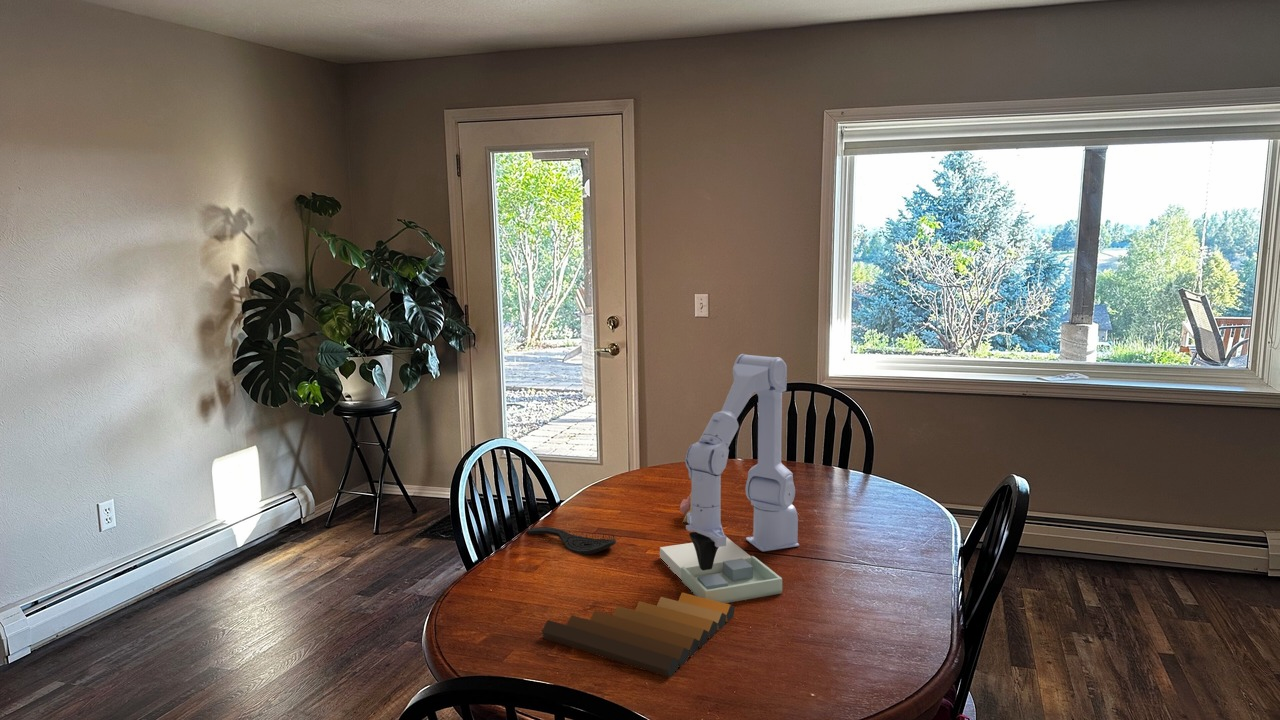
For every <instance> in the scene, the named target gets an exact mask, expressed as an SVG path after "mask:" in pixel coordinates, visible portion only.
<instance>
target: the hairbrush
mask: <svg viewBox="0 0 1280 720" xmlns="http://www.w3.org/2000/svg"><path fill="white" fill-rule="evenodd" d="M526 532H527V534H528V535H551V536H555V537H558V538H559V540H560V541H561V542H562V544H563V546H564V547H565V549H567V550H569V551H570V552H573V553H575V554H578V555H583V556H584V555H586V556H587V555H591V554H592V555H593V554H595V553H599V552H601V551H603V550H605V549H607V548H608V549H609V548H610V547H612V546H614V545H616V544H617V541H616V539H615V538H614V537H615V534H612V535H610V536H607V535H605V534H603V535H601V536H602V537H601V536H596V533H594V534H591V535H590V534H585V535H584V533H581V535H578V534H577V533H572V534H571V530H568V531H565V530H563V529H558V528H555V527H550V526H539V527H533V528H529V529H527V530H526ZM588 536H589V537H588ZM599 537H600V538H599Z"/></svg>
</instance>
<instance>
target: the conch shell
mask: <svg viewBox="0 0 1280 720" xmlns="http://www.w3.org/2000/svg"><path fill="white" fill-rule="evenodd" d="M679 510H680V512H681V513H682V515H684V518H683V521H682V523H683V522H684V523H688V522H687V513H692V491H691V492H690V493H689V496H687V498H683V499H682V501H681V502H680V506H679Z"/></svg>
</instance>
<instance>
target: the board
mask: <svg viewBox="0 0 1280 720" xmlns="http://www.w3.org/2000/svg"><path fill="white" fill-rule="evenodd" d="M751 556H752V555H750V554H748V553H747V552H746V551H745V550H744V549H743V548H741V547H740V546H739V545H737V544H736V543H735V542H733V541H732V540H731V539H730V538H729V537H726V546H722V547H719V548H718V550H717V552H716V555H715V558H714V562H713V566H712V569H709V570H702V569H700V567H699V563H698V558H697V554H696V550H695V547H694V544H693V542H689V543H688V542H687V543H681V544H674V545H666V546H661V547H660V546H659V559H660V558H661V559H662V560H663V561H664V562H665V563H666V564H667V565H668V566H667V565H666V564H665V563H664V562H663V561H662V560H661V559H660V560H661V561H662V562H663V563H664V564H665V565H666V566H667V567H668V568H669V567H670V568H669V569H670V571H671V572H672V573H674V575H675V574H676V575H677V576H678V577H679V578H680V579H681V567H685V568H686V569H687V570H688V571H689V572H690V573H691V574H692V575H693V576H694V577H696V576H702V575H708V574H714V573H720V572H723V561H729V560H735V559H741V558H743V559H744V560H745V561H747V562H748V563H749V564H751ZM676 575H675V576H676ZM677 576H676V577H677ZM678 577H677V578H678ZM679 578H678V579H679ZM680 579H679V580H680Z"/></svg>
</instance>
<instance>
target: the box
mask: <svg viewBox="0 0 1280 720" xmlns="http://www.w3.org/2000/svg"><path fill="white" fill-rule="evenodd" d="M750 556H751V565H752V566H753V578H752V579H746V580H740V581H735V582H733V581H731V580H730V579H729V578H728V577H727V576H726V575H724V574H723V572H720V573H714V574H719V575H720V576H721V577H722V578H723V579H724V580H725V581H726V582H727V583H728V586H727V587H721V588H715V589H709V590H707V589H706V588H705V587H704V586H703V585H702V584H701V583H700V582H699V581H698V580H697V577H700V576H696V577H694V576H693V575H692V574H691V573H690V572H689V571H688V570H687V569H686V568H685V567H681V580H682V581H681V580H680V581H681V583H683V584H684V586H685V587H686V586H687V587H688V588H689V589H690V590H691V591H690V590H689V589H688V588H687V587H686V588H687V589H688V590H689V591H690V592H691V593H692V592H693V593H692V595H694V596H698V597H702V598H706V599H710V600H714V601H718V602H722V603H726V604H729V603H734V602H740V601H744V600H752V599H757V598H763V597H768V596H773V595H780V594H783V578H782V577H781V576H780V575H778V574H777V573H776V572H775V571H773V569H771V568H770V567H768V565H766V564H765V563H763V562H762V561H761V560H759V559H758V558H757V557H756V556H754V555H750ZM714 574H708V575H714ZM702 576H707V575H702Z"/></svg>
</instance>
